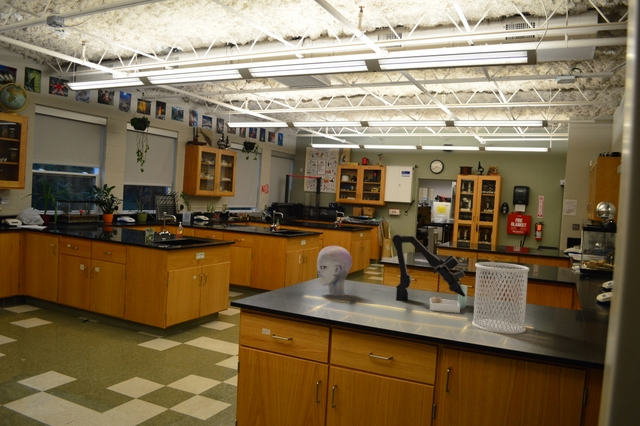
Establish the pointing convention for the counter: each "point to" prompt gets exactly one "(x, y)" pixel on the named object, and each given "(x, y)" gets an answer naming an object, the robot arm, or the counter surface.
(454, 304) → the tote
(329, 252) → the sculpture
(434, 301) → the cube
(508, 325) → the wastebasket
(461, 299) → the canister
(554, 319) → the counter surface
